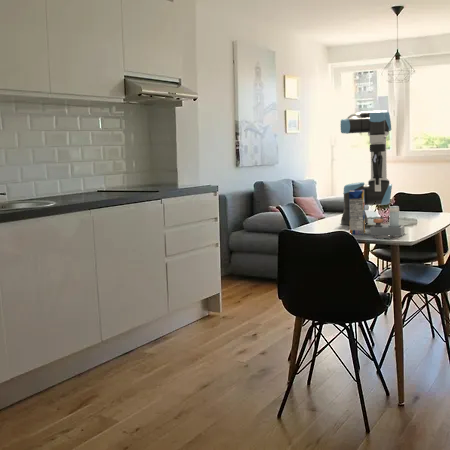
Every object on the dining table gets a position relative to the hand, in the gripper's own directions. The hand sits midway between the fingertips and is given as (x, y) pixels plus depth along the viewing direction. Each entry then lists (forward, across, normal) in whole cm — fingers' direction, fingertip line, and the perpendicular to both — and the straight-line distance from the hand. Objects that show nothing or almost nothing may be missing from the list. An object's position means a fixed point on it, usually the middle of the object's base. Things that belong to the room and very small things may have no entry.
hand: (377, 191), depth 298 cm
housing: (+22, 0, -4) cm, 22 cm away
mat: (+22, -11, -5) cm, 25 cm away
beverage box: (+22, +1, +11) cm, 25 cm away
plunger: (+20, 0, 0) cm, 20 cm away
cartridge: (+22, 0, -8) cm, 23 cm away
